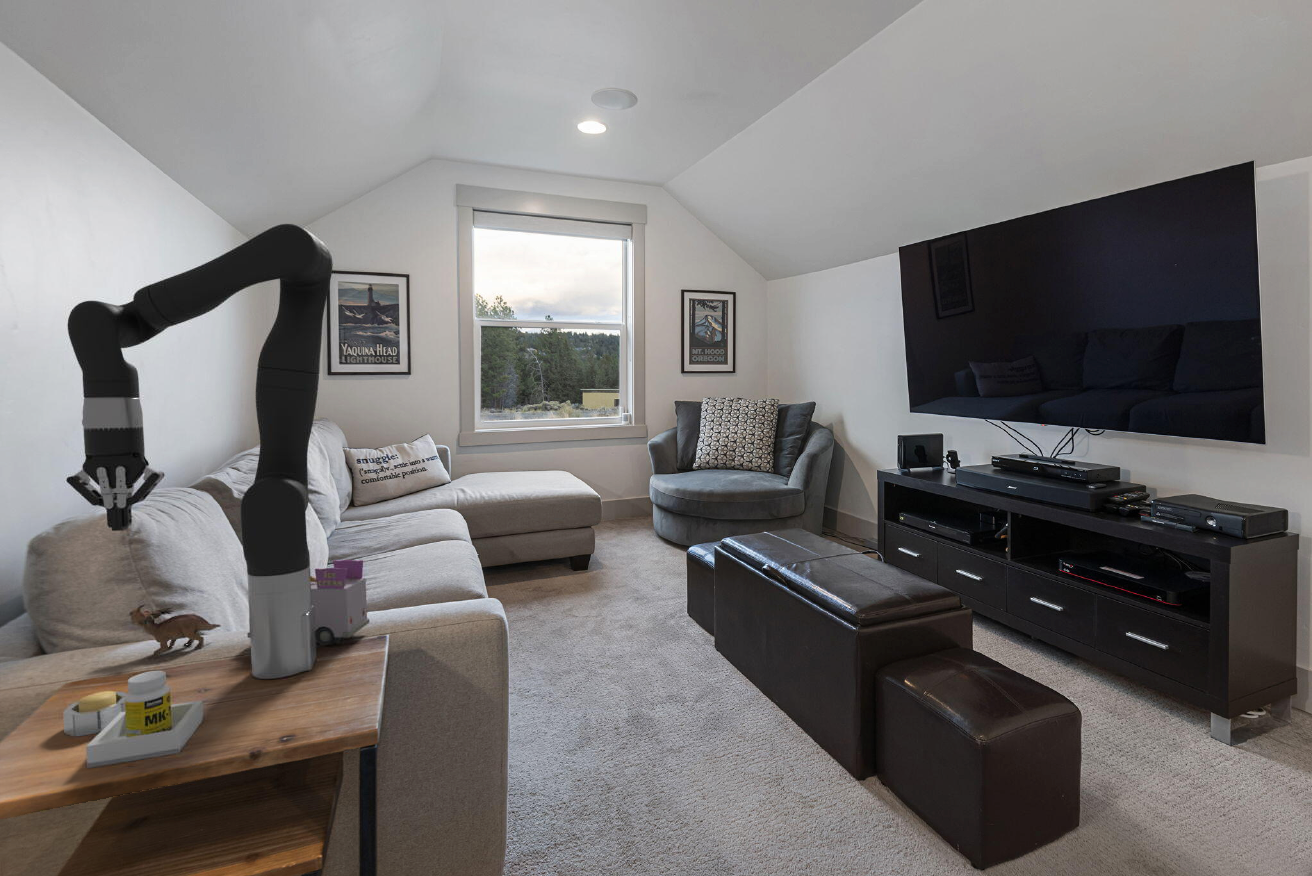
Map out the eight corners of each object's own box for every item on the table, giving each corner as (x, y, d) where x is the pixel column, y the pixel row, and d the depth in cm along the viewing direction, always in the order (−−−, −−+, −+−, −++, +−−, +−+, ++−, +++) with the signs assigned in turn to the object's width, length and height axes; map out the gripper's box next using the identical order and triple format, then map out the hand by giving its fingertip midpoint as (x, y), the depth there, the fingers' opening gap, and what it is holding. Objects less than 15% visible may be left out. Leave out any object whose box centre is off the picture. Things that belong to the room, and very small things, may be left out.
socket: (138, 708, 95) (136, 689, 95) (117, 730, 89) (116, 709, 88) (81, 717, 93) (80, 697, 92) (55, 739, 86) (54, 718, 86)
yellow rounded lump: (122, 709, 93) (120, 689, 93) (109, 721, 89) (108, 700, 89) (88, 714, 92) (86, 693, 92) (73, 727, 88) (72, 705, 88)
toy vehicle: (276, 631, 128) (273, 558, 127) (371, 631, 127) (368, 557, 126) (245, 649, 119) (241, 569, 118) (347, 648, 118) (344, 568, 117)
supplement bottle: (146, 748, 82) (143, 685, 82) (117, 745, 83) (113, 682, 83) (181, 730, 87) (177, 670, 87) (153, 727, 88) (149, 668, 88)
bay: (203, 719, 91) (202, 700, 91) (179, 752, 82) (178, 731, 82) (121, 731, 88) (120, 712, 88) (87, 768, 79) (86, 746, 79)
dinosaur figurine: (129, 664, 112) (126, 612, 112) (131, 654, 117) (128, 604, 117) (222, 645, 121) (220, 597, 120) (221, 637, 125) (218, 590, 125)
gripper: (170, 424, 110) (176, 523, 111) (75, 426, 106) (81, 529, 107) (153, 425, 103) (159, 530, 104) (50, 427, 99) (57, 537, 99)
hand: (119, 529), depth 105 cm, fingers closed
